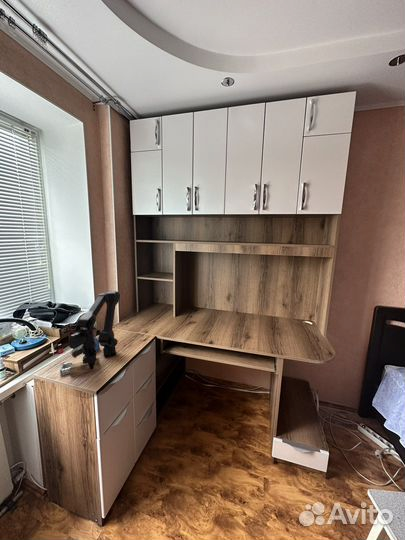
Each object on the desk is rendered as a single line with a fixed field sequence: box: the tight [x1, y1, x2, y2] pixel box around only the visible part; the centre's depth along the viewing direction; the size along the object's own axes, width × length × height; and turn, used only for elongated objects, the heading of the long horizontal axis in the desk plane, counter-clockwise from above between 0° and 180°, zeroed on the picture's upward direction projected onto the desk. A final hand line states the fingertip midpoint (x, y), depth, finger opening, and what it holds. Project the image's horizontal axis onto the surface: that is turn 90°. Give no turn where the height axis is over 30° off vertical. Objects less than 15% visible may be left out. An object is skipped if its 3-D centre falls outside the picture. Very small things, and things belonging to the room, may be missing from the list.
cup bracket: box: [59, 361, 73, 376], centre depth 122 cm, size 5×8×3 cm, turn 25°
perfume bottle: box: [94, 336, 101, 352], centre depth 144 cm, size 6×6×12 cm
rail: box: [69, 357, 101, 377], centre depth 122 cm, size 14×4×4 cm, turn 115°
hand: (91, 367), depth 123 cm, fingers closed on rail, 4 cm apart
